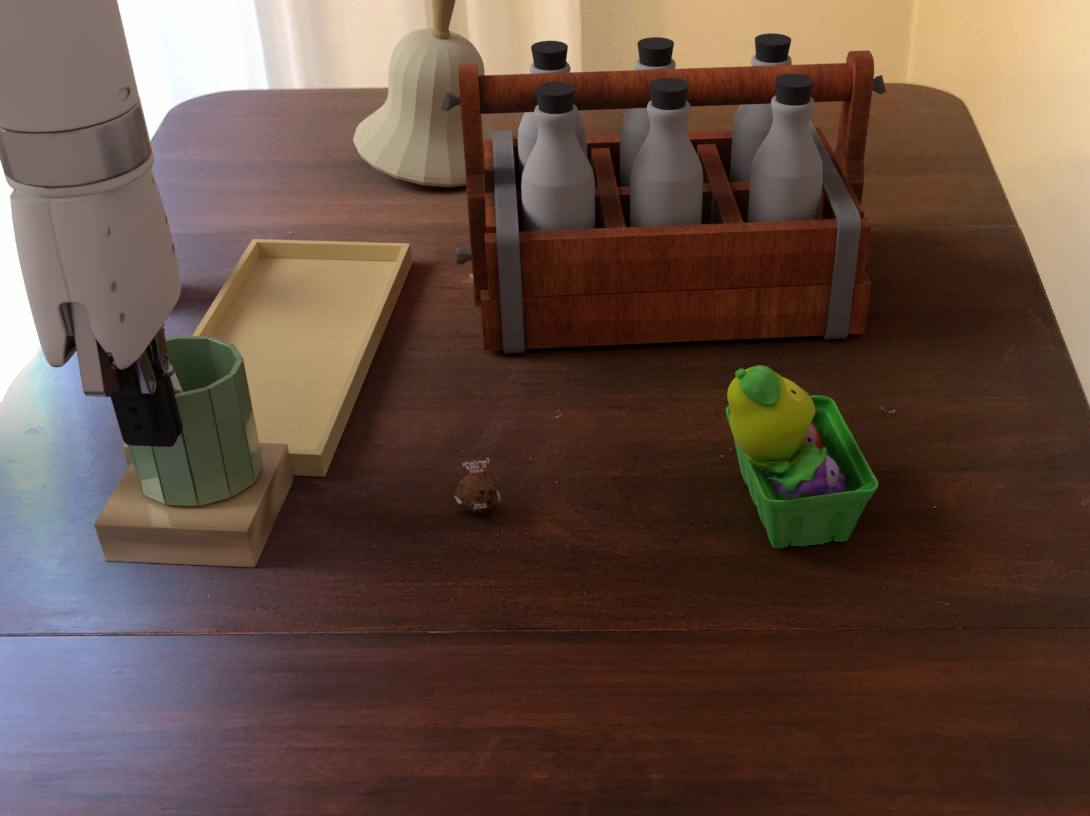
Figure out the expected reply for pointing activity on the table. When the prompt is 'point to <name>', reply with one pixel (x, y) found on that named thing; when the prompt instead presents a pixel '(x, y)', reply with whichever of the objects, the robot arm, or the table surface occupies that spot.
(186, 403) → the cup
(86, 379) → the robot arm
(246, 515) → the block
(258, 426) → the tray
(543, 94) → the milk bottle holder
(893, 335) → the table surface
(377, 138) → the handbell
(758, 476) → the fruit basket
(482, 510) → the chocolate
